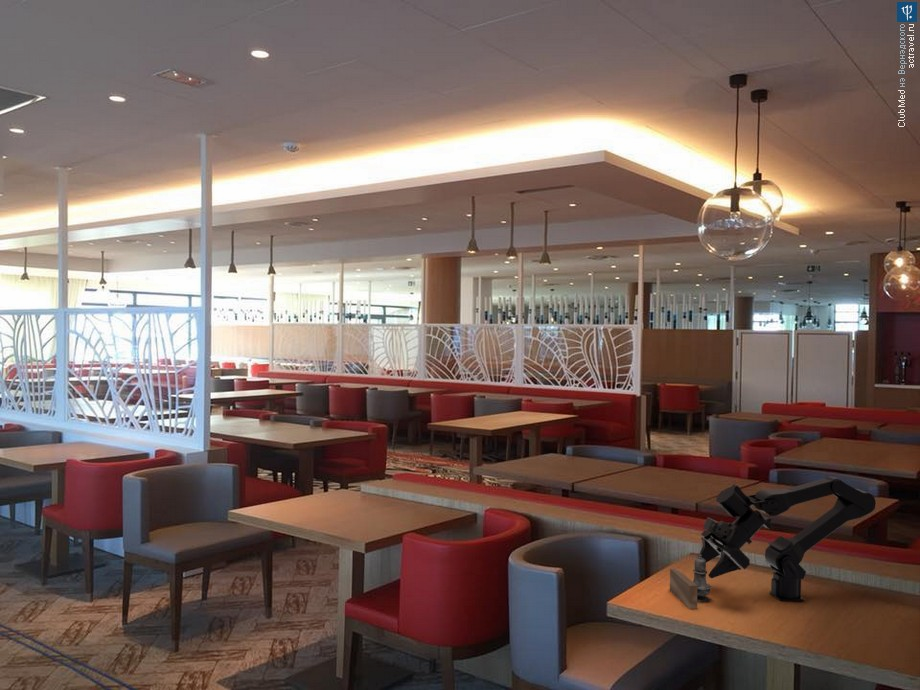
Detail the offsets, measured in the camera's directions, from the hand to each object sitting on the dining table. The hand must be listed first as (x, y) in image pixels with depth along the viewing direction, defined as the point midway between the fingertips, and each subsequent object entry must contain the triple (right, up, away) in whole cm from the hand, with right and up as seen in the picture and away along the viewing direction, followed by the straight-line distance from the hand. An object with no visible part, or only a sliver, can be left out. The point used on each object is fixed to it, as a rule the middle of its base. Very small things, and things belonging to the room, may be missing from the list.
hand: (702, 571), depth 205 cm
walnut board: (-5, -7, 0) cm, 9 cm away
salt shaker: (-1, -8, 0) cm, 8 cm away
